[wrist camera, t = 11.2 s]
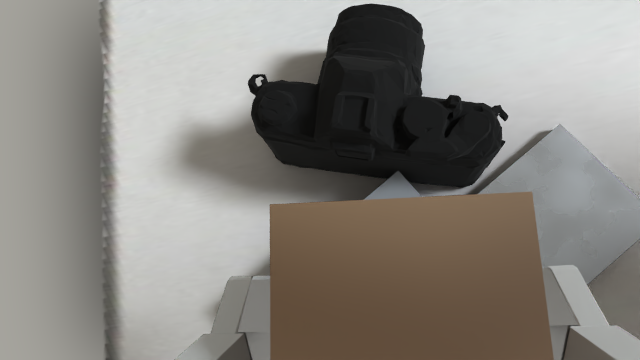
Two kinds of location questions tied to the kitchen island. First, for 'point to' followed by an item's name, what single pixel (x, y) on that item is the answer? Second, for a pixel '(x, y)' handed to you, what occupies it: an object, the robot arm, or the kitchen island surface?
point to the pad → (574, 204)
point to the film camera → (376, 109)
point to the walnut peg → (408, 279)
